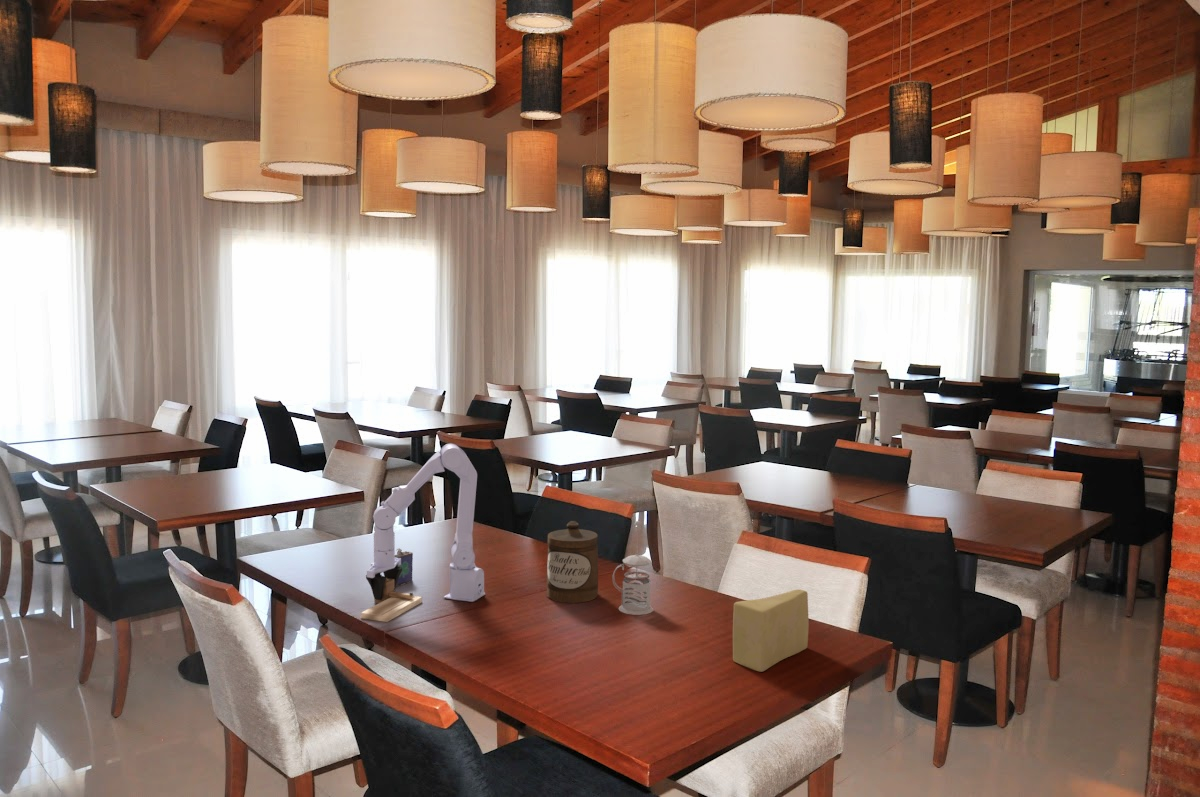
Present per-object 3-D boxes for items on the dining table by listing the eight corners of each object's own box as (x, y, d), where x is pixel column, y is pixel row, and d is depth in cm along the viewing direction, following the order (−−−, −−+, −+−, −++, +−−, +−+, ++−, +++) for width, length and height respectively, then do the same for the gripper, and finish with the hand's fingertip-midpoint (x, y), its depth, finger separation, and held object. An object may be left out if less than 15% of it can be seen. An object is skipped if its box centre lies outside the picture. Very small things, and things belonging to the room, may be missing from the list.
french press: (650, 616, 253) (652, 526, 251) (609, 612, 255) (610, 523, 253) (655, 605, 263) (657, 518, 260) (615, 601, 265) (617, 515, 263)
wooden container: (539, 600, 265) (540, 524, 263) (557, 585, 280) (557, 514, 277) (588, 605, 261) (589, 529, 259) (604, 591, 275) (605, 518, 273)
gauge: (416, 602, 261) (416, 579, 261) (408, 606, 257) (408, 582, 257) (382, 598, 265) (382, 574, 264) (374, 602, 261) (374, 578, 260)
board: (422, 602, 262) (422, 596, 262) (387, 621, 245) (387, 616, 245) (397, 598, 264) (397, 593, 264) (361, 618, 247) (361, 612, 247)
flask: (392, 588, 274) (391, 552, 273) (385, 586, 276) (384, 551, 275) (414, 581, 282) (414, 546, 281) (407, 579, 283) (407, 545, 283)
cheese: (790, 641, 235) (792, 584, 234) (821, 653, 228) (823, 593, 226) (730, 661, 221) (731, 600, 220) (761, 674, 214) (763, 610, 212)
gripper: (386, 541, 269) (386, 587, 270) (357, 553, 255) (357, 601, 257) (407, 544, 267) (407, 590, 268) (379, 556, 253) (379, 604, 254)
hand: (384, 596), depth 262 cm, fingers open, 6 cm apart
